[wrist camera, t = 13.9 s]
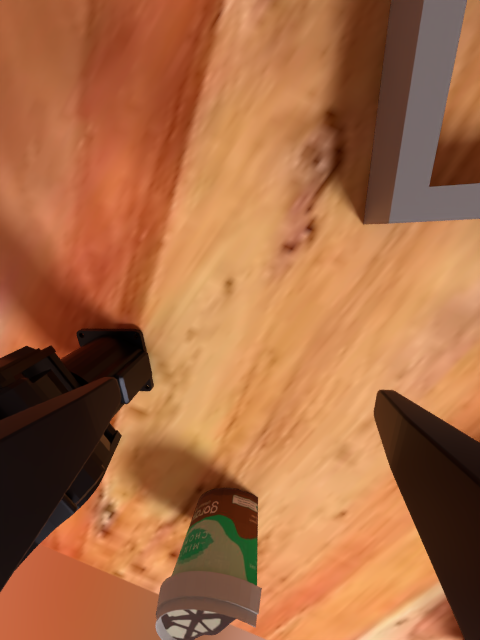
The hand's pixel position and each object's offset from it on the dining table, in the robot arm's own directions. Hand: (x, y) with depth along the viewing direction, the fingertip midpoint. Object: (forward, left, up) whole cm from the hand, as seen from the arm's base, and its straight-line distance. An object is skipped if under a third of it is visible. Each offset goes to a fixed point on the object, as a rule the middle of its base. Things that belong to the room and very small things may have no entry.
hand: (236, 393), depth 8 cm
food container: (-6, -26, -12) cm, 29 cm away
